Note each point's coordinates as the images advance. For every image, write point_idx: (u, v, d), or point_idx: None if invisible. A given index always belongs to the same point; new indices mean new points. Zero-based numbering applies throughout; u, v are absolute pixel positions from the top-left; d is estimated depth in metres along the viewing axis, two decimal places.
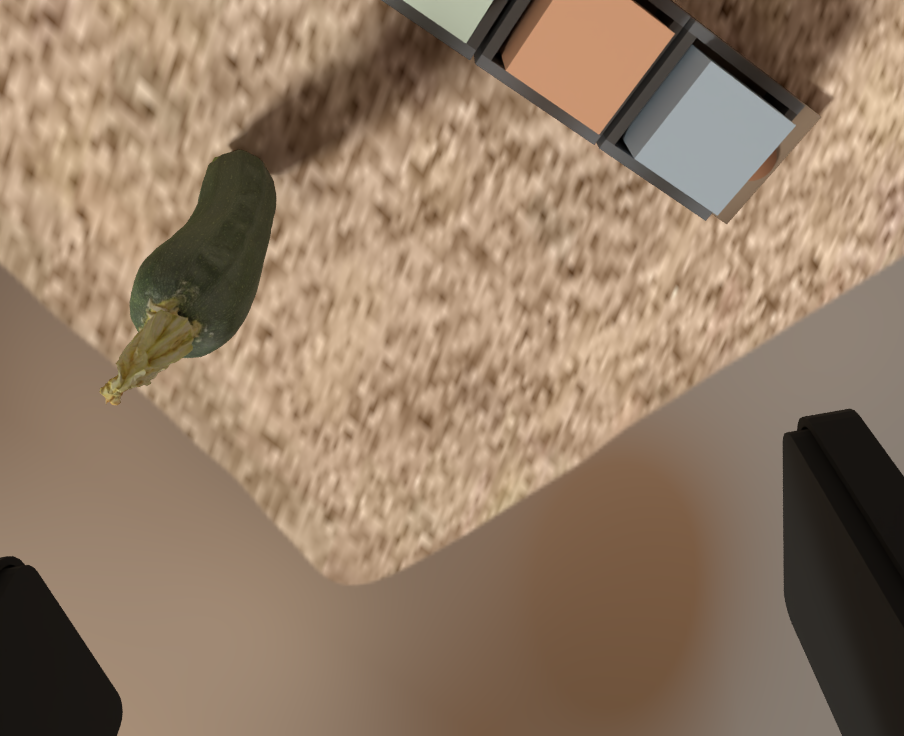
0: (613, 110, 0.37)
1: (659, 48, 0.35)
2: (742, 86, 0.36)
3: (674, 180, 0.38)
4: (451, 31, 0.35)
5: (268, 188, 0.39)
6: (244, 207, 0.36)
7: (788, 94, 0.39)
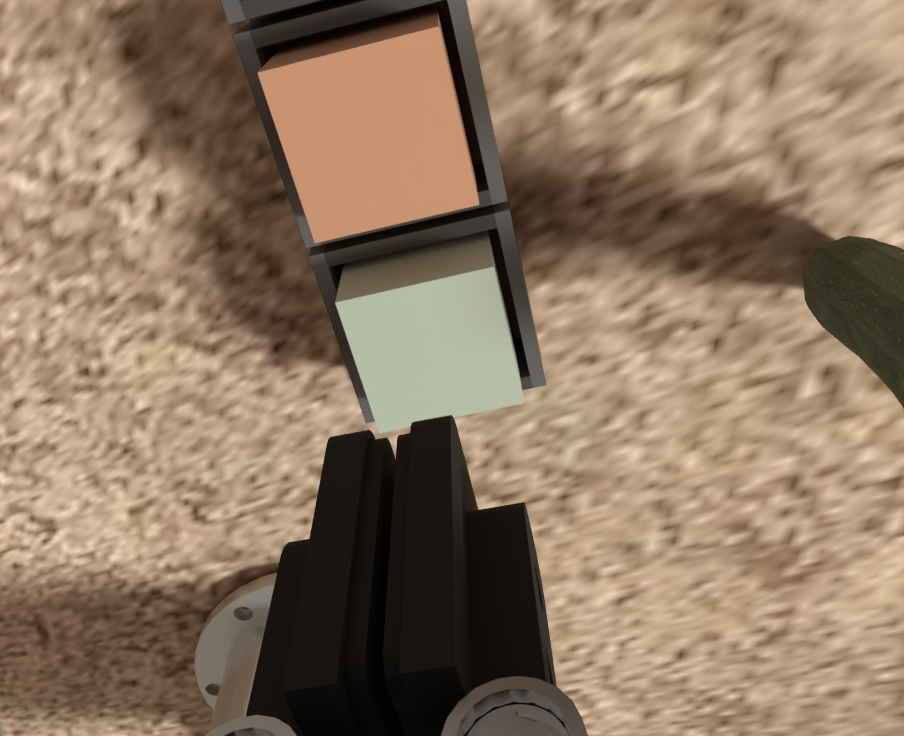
0: (397, 42, 0.22)
1: (287, 71, 0.23)
2: None
3: None
4: (496, 289, 0.26)
5: (832, 290, 0.28)
6: (875, 359, 0.25)
7: None
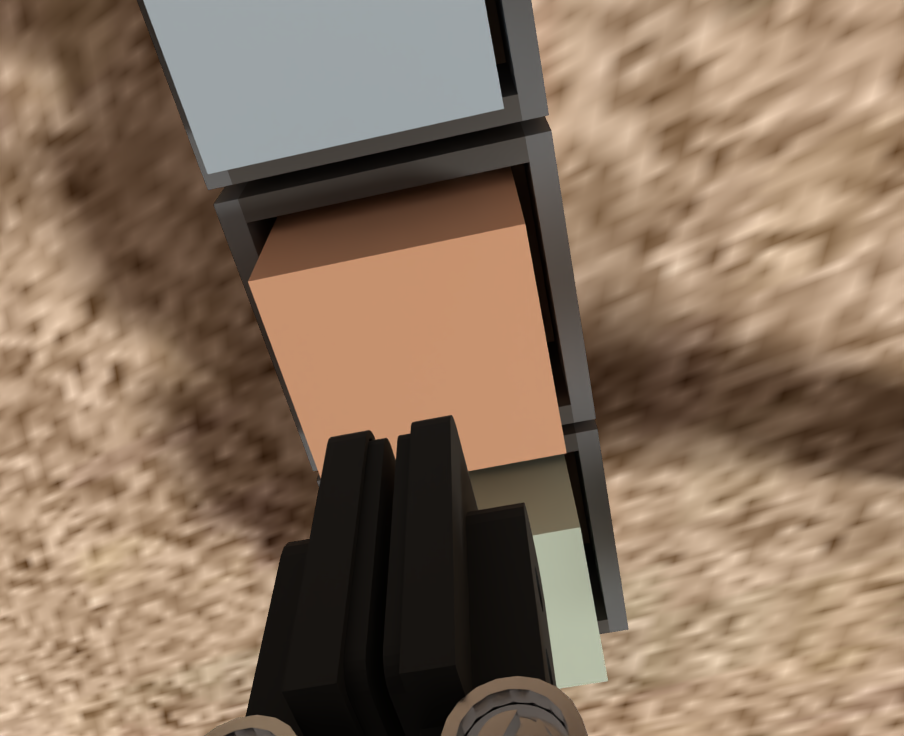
0: (460, 244, 0.15)
1: (293, 280, 0.15)
2: (168, 59, 0.13)
3: None
4: (581, 552, 0.19)
5: None
6: None
7: None
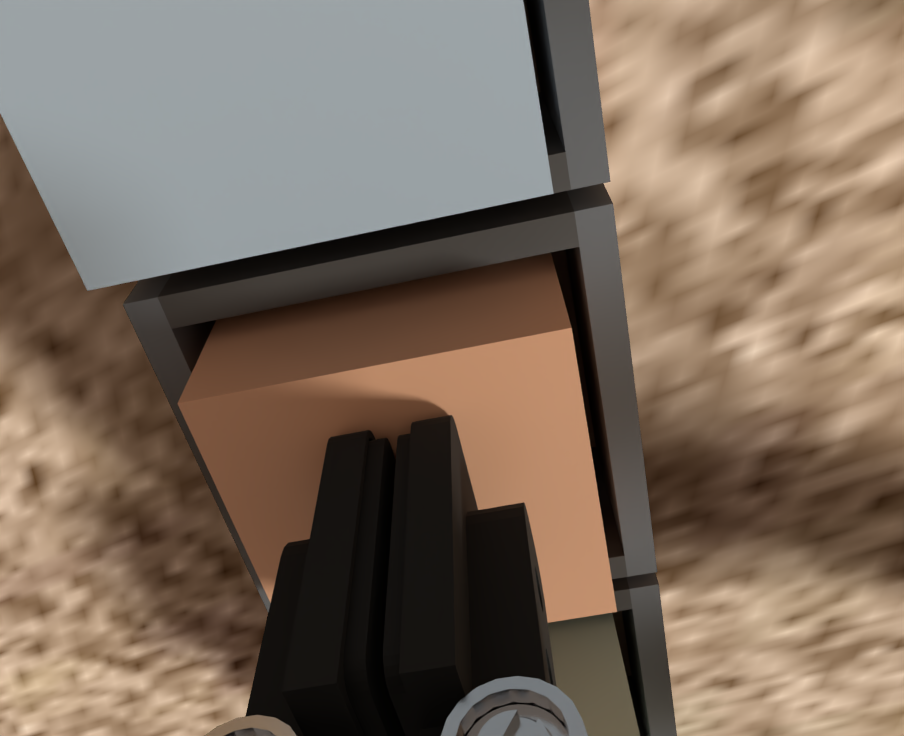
0: (478, 354, 0.10)
1: (241, 401, 0.11)
2: (8, 118, 0.08)
3: None
4: None
5: None
6: None
7: None
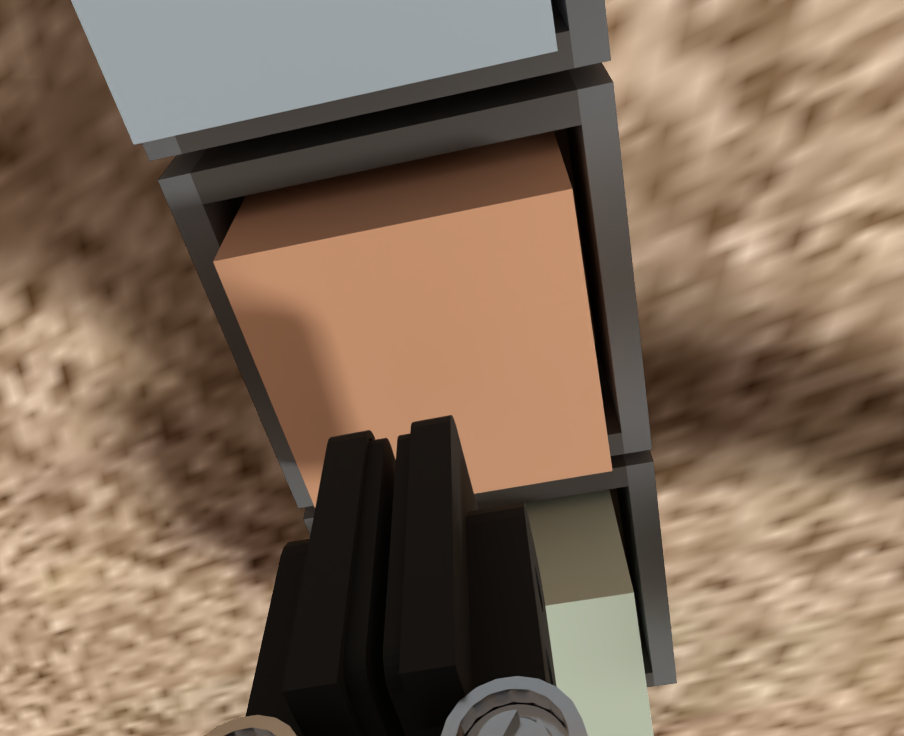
0: (487, 215, 0.11)
1: (271, 260, 0.12)
2: None
3: None
4: (633, 621, 0.15)
5: None
6: None
7: None
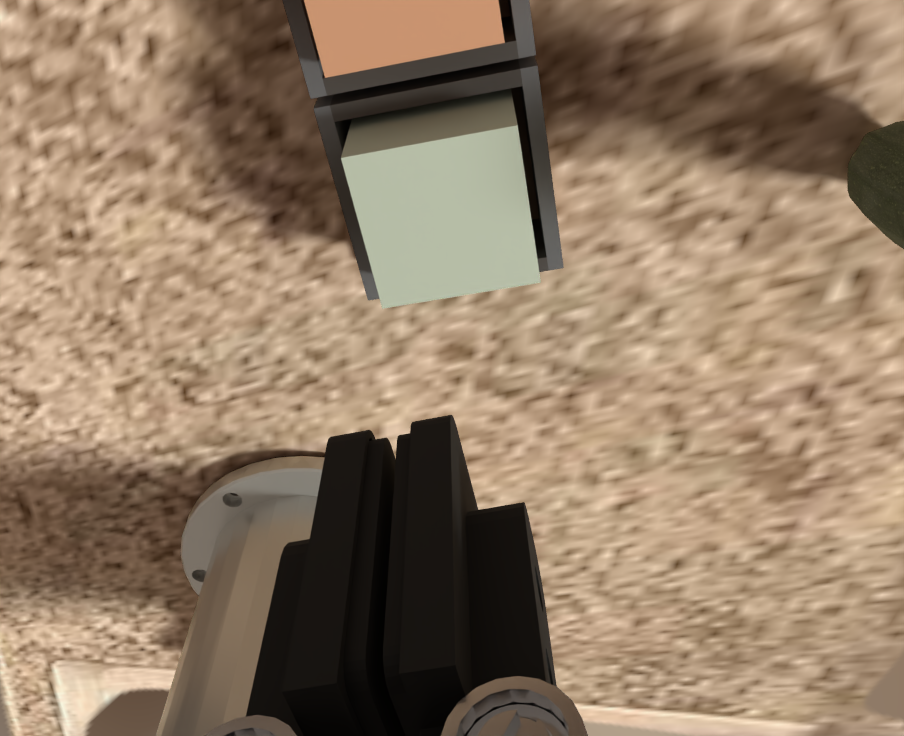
0: None
1: None
2: None
3: None
4: (519, 151, 0.24)
5: (883, 175, 0.25)
6: None
7: None
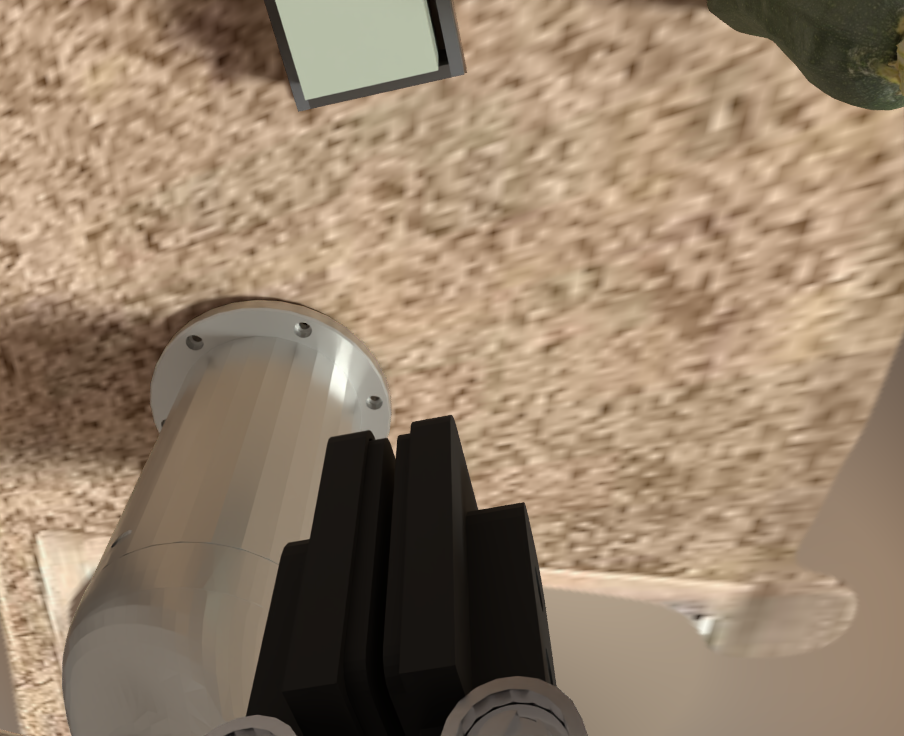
0: None
1: None
2: None
3: None
4: None
5: None
6: (747, 3, 0.27)
7: None
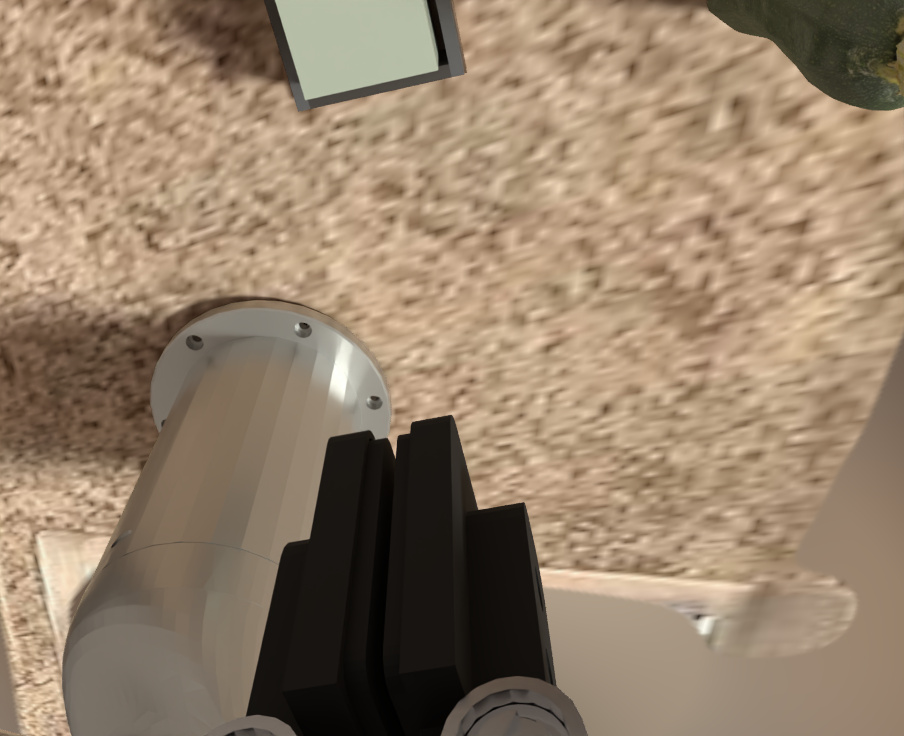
0: None
1: None
2: None
3: None
4: None
5: None
6: (746, 3, 0.27)
7: None
